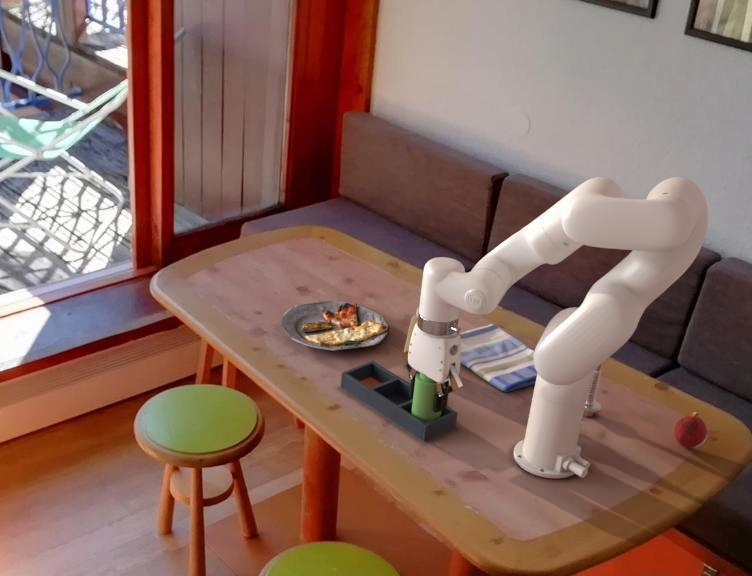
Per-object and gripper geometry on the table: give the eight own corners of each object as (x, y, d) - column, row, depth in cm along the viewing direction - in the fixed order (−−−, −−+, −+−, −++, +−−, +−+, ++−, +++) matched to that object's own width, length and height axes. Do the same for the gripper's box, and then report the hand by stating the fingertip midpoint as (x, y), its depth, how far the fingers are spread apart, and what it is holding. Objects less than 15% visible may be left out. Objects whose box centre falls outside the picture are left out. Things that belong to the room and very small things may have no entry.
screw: (588, 422, 214) (569, 411, 217) (604, 415, 216) (585, 404, 220) (601, 367, 207) (581, 357, 210) (617, 360, 210) (597, 350, 213)
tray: (455, 429, 211) (457, 412, 209) (423, 443, 206) (426, 426, 204) (371, 376, 228) (372, 360, 226) (340, 388, 223) (341, 372, 221)
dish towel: (493, 330, 247) (495, 319, 245) (564, 377, 229) (566, 366, 228) (434, 346, 240) (435, 335, 238) (502, 396, 222) (504, 384, 221)
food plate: (363, 303, 257) (364, 290, 256) (405, 348, 239) (407, 334, 237) (267, 316, 250) (267, 303, 249) (302, 364, 232) (303, 350, 230)
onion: (697, 459, 204) (708, 424, 199) (667, 449, 206) (676, 415, 202) (704, 444, 208) (714, 410, 204) (673, 435, 210) (683, 401, 206)
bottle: (445, 426, 211) (455, 351, 202) (424, 435, 208) (434, 359, 199) (424, 413, 215) (434, 339, 206) (404, 422, 212) (412, 347, 203)
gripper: (485, 334, 195) (472, 416, 205) (419, 300, 207) (410, 378, 217) (457, 346, 192) (445, 428, 201) (391, 310, 203) (383, 389, 213)
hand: (427, 401), depth 209 cm, fingers closed on bottle, 5 cm apart
